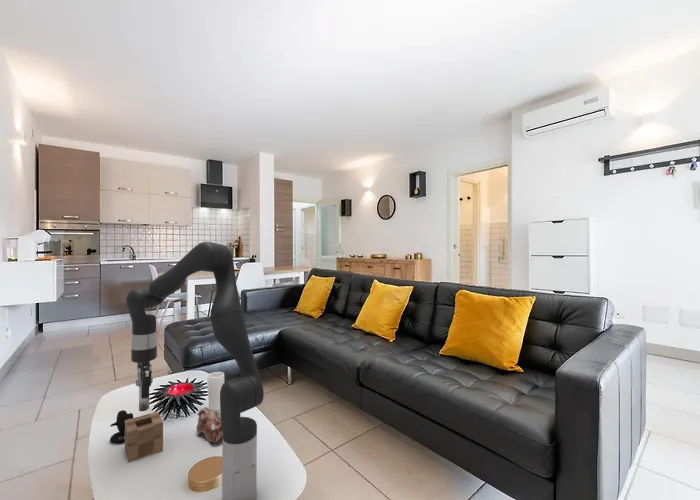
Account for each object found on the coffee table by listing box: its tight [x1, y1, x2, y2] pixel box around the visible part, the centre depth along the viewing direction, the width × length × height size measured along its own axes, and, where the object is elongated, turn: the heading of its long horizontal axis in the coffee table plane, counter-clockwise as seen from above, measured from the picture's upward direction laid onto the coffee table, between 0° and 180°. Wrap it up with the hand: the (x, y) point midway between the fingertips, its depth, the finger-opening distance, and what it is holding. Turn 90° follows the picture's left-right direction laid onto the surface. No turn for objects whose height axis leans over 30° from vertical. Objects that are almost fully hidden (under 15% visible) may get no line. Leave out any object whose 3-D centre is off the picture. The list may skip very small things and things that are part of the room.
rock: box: [196, 407, 223, 443], centre depth 123 cm, size 16×11×15 cm
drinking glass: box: [206, 371, 225, 411], centre depth 141 cm, size 7×7×15 cm
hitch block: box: [124, 411, 164, 463], centre depth 113 cm, size 10×10×10 cm
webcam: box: [109, 410, 134, 445], centre depth 119 cm, size 8×8×10 cm
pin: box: [135, 376, 154, 412], centre depth 113 cm, size 5×5×10 cm
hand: (144, 394), depth 113 cm, fingers closed on pin, 4 cm apart
